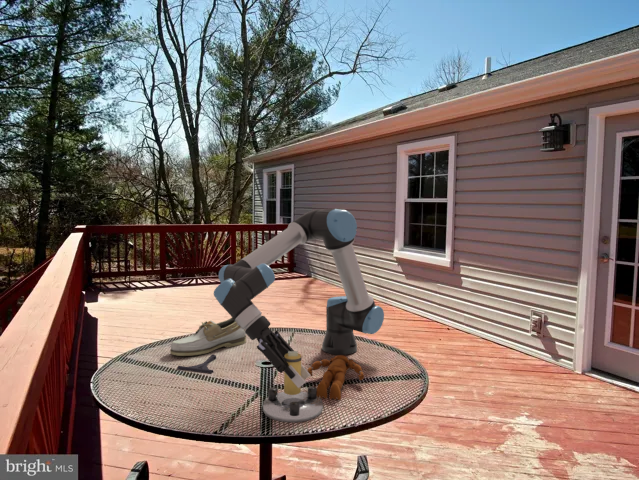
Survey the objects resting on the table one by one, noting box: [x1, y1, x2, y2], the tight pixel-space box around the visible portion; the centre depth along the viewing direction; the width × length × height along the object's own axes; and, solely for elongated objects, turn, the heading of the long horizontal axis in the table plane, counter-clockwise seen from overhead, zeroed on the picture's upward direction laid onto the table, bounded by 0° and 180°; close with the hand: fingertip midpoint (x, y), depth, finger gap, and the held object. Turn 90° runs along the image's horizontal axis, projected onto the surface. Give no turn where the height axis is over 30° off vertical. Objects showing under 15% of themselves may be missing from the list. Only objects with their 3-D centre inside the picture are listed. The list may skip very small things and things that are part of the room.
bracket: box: [176, 354, 217, 374], centre depth 165 cm, size 14×15×3 cm
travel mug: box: [283, 350, 303, 395], centre depth 128 cm, size 5×5×12 cm
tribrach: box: [262, 385, 324, 423], centre depth 129 cm, size 18×18×4 cm
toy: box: [307, 355, 365, 401], centre depth 150 cm, size 20×7×30 cm
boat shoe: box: [169, 317, 247, 357], centre depth 185 cm, size 13×36×12 cm, turn 138°
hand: (304, 381), depth 127 cm, fingers closed on travel mug, 5 cm apart
